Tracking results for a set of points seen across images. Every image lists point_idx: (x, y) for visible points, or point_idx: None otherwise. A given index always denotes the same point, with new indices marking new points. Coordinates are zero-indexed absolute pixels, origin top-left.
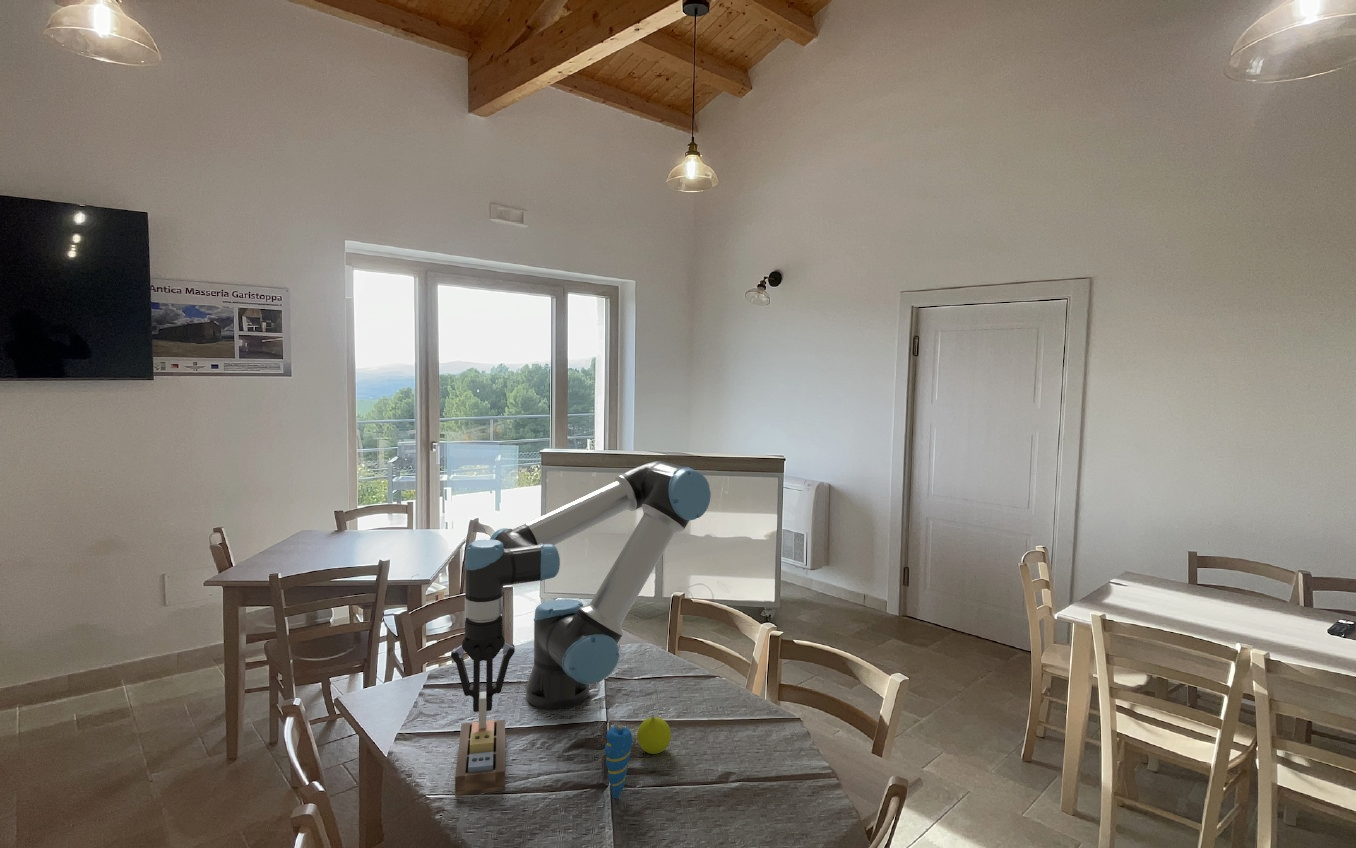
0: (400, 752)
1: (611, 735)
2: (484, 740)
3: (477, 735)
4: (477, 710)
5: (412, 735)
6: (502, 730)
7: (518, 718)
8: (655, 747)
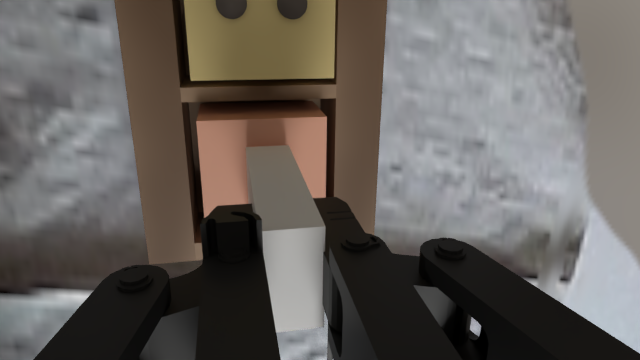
0: (571, 155)
1: None
2: None
3: (292, 36)
4: (315, 201)
5: (525, 262)
6: (150, 155)
7: None
8: None
